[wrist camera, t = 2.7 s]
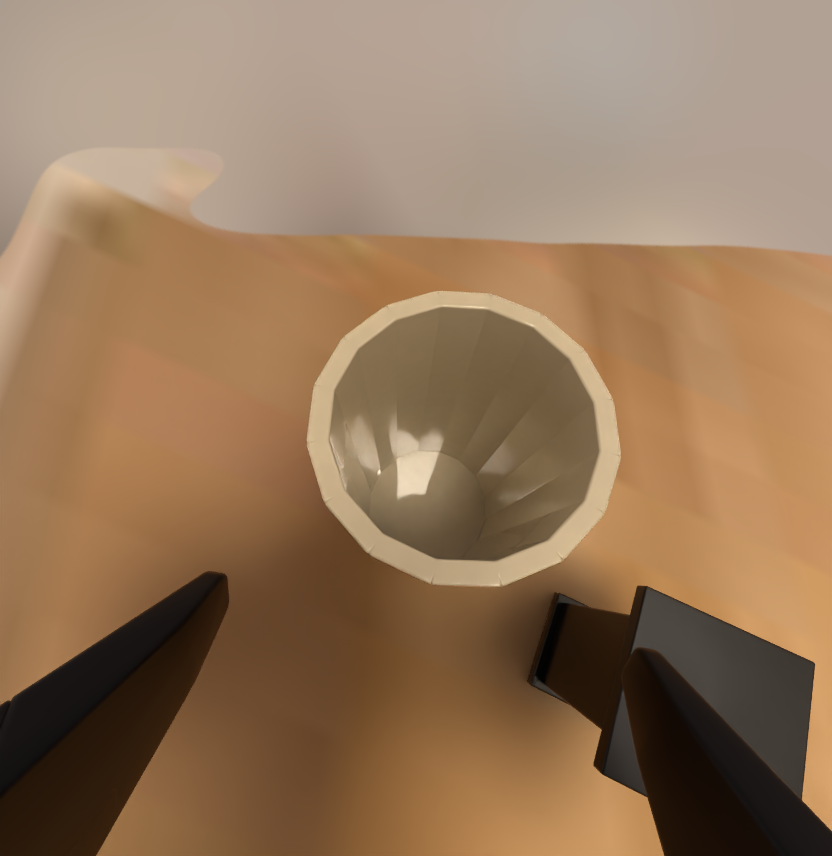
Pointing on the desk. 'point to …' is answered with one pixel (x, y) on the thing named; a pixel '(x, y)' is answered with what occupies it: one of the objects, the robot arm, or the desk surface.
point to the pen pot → (463, 439)
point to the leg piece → (694, 659)
